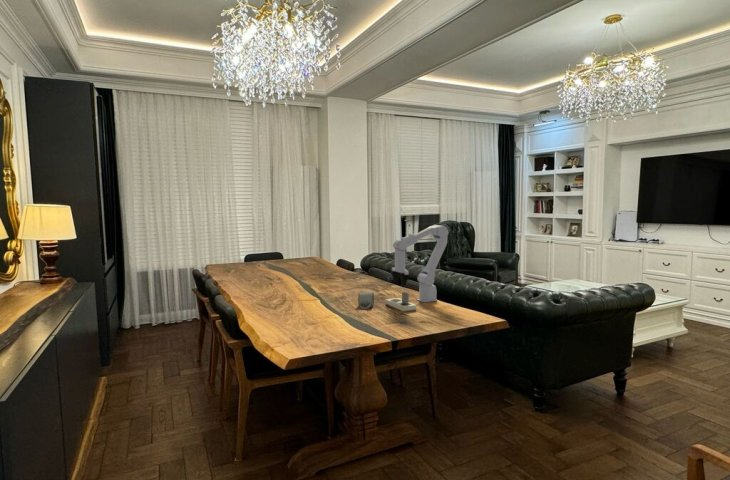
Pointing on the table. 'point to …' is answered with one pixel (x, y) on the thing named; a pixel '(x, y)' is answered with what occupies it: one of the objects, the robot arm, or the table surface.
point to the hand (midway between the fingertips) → (399, 285)
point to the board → (400, 305)
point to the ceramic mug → (366, 300)
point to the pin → (405, 298)
